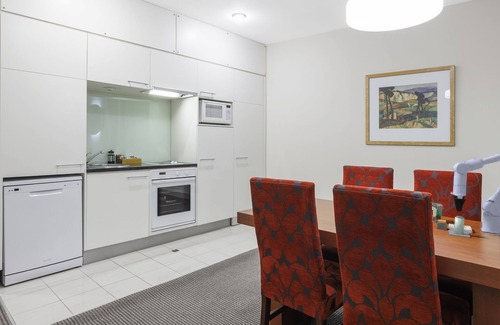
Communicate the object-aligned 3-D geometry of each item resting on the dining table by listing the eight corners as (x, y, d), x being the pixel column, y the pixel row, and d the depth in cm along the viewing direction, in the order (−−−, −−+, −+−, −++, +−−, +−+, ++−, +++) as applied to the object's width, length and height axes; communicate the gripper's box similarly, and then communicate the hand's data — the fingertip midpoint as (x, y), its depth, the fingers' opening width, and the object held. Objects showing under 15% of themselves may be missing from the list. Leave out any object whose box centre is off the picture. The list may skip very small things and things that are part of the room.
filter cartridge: (463, 233, 166) (464, 216, 165) (463, 234, 162) (464, 217, 162) (454, 231, 168) (454, 215, 167) (454, 233, 164) (455, 216, 164)
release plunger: (445, 227, 176) (445, 220, 176) (445, 229, 173) (446, 221, 173) (437, 226, 178) (438, 219, 178) (437, 228, 175) (438, 220, 175)
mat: (468, 233, 167) (468, 232, 167) (470, 237, 159) (470, 236, 159) (448, 230, 171) (448, 230, 171) (448, 234, 163) (449, 234, 163)
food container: (447, 223, 188) (448, 206, 188) (436, 223, 188) (437, 206, 188) (435, 218, 200) (436, 202, 200) (425, 218, 201) (426, 202, 200)
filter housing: (470, 228, 176) (470, 223, 176) (471, 233, 167) (472, 227, 167) (436, 224, 184) (437, 219, 184) (437, 228, 175) (437, 223, 175)
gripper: (450, 183, 182) (449, 207, 183) (451, 185, 170) (450, 211, 171) (465, 184, 179) (464, 208, 180) (467, 187, 166) (466, 213, 167)
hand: (458, 210), depth 175 cm, fingers open, 7 cm apart
